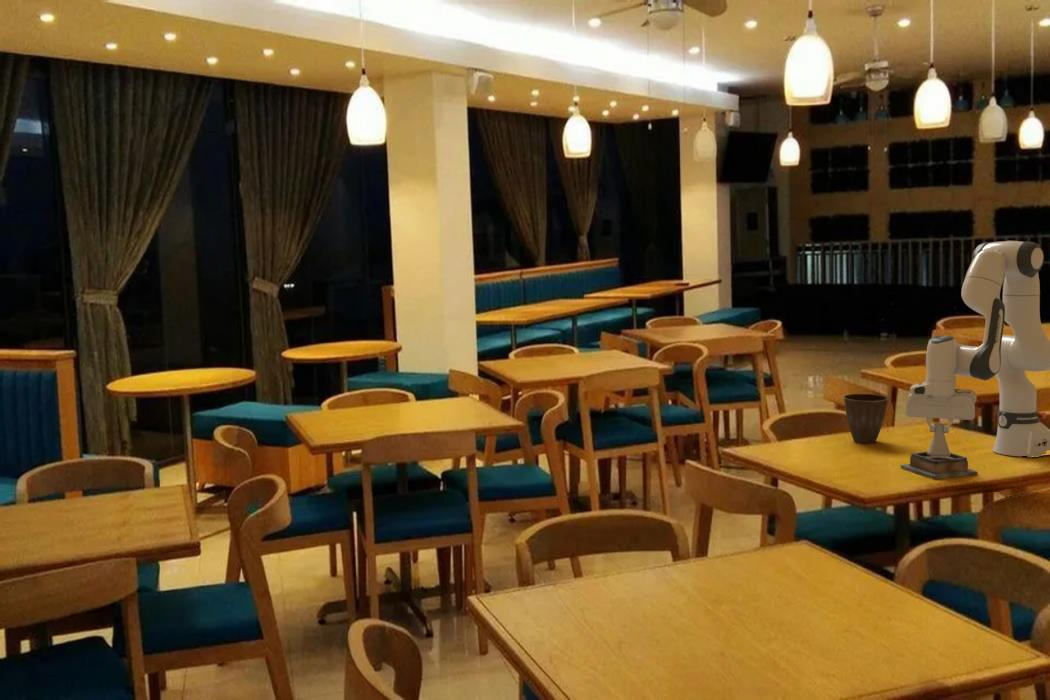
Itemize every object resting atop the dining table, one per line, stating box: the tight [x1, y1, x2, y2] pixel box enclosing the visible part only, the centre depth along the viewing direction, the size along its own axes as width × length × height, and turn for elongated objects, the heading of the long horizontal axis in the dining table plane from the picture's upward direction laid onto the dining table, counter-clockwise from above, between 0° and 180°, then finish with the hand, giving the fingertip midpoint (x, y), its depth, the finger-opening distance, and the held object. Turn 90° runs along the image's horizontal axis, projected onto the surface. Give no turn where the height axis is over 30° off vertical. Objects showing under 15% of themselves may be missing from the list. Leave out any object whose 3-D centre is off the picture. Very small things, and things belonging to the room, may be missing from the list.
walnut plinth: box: [900, 451, 979, 480], centre depth 330 cm, size 16×16×5 cm
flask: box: [926, 422, 951, 457], centre depth 329 cm, size 7×7×10 cm
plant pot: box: [843, 393, 889, 444], centre depth 374 cm, size 15×15×16 cm
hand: (939, 432), depth 328 cm, fingers closed on flask, 3 cm apart
